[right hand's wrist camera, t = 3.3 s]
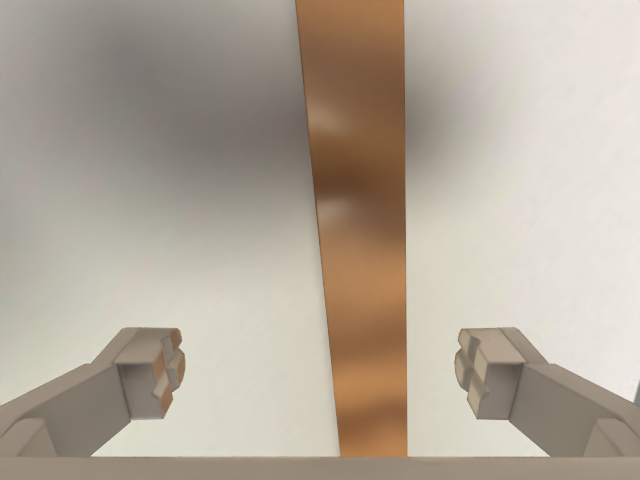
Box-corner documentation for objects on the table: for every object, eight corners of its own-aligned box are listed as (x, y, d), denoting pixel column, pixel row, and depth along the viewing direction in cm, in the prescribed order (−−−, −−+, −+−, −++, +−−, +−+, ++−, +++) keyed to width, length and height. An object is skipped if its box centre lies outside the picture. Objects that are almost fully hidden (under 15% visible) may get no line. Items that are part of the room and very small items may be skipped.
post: (297, 10, 23) (291, -41, 15) (371, 2, 23) (404, -52, 15) (356, 606, 47) (365, 710, 39) (392, 603, 47) (409, 706, 39)
